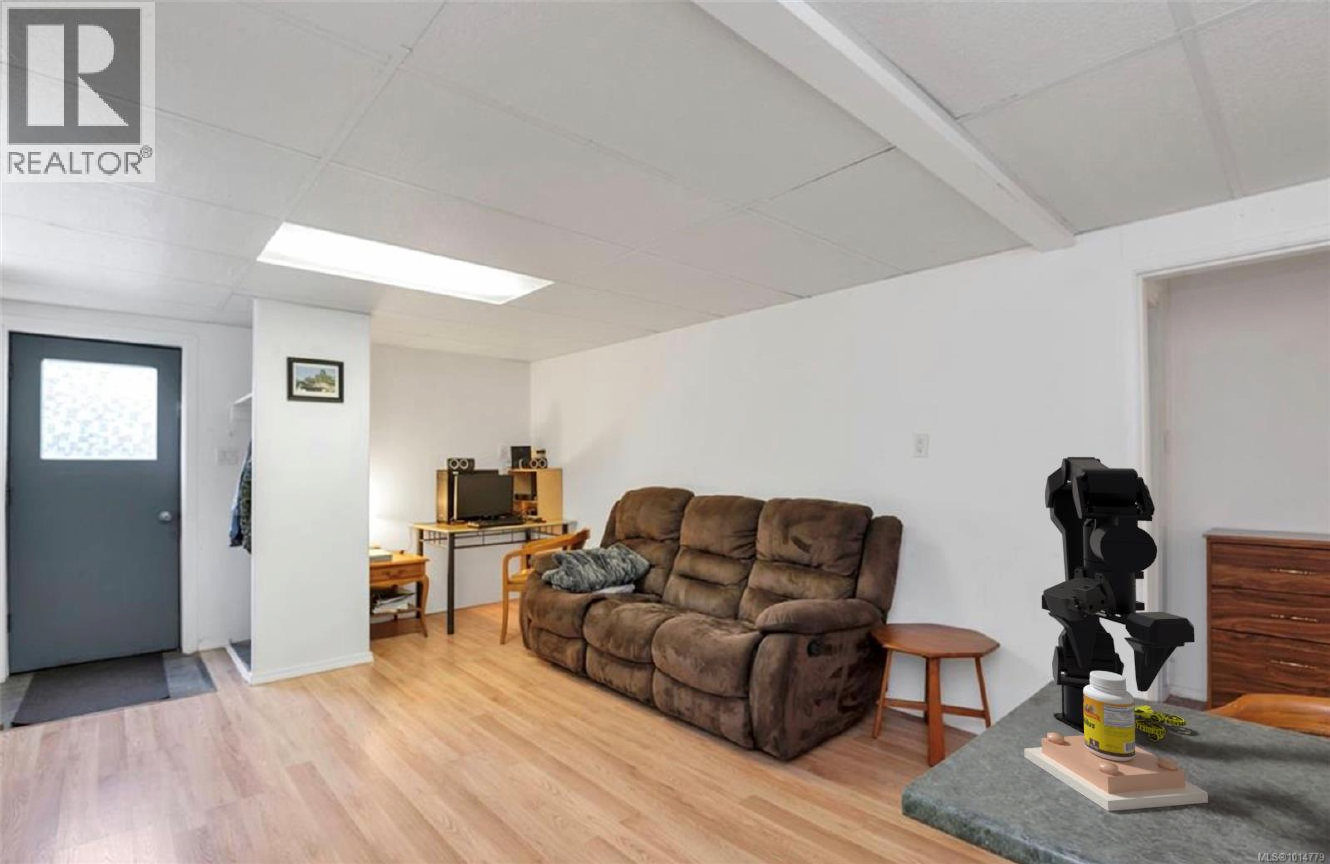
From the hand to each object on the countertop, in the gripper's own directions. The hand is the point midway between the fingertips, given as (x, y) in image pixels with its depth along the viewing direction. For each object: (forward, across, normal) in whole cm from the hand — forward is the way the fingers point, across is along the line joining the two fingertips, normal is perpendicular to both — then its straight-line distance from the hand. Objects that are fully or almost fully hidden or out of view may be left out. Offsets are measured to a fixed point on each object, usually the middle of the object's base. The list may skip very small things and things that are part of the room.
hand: (1111, 678), depth 85 cm
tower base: (+13, 0, -1) cm, 13 cm away
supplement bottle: (+10, 0, -1) cm, 10 cm away
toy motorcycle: (+13, -13, +18) cm, 26 cm away
